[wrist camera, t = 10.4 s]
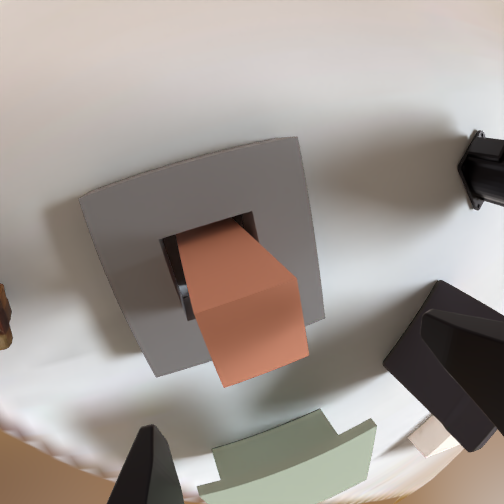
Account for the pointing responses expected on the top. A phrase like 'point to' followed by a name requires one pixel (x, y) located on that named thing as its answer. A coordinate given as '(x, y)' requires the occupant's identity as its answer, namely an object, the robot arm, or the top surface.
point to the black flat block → (442, 370)
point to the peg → (241, 301)
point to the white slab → (432, 438)
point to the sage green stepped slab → (292, 463)
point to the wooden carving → (4, 320)
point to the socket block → (192, 216)
